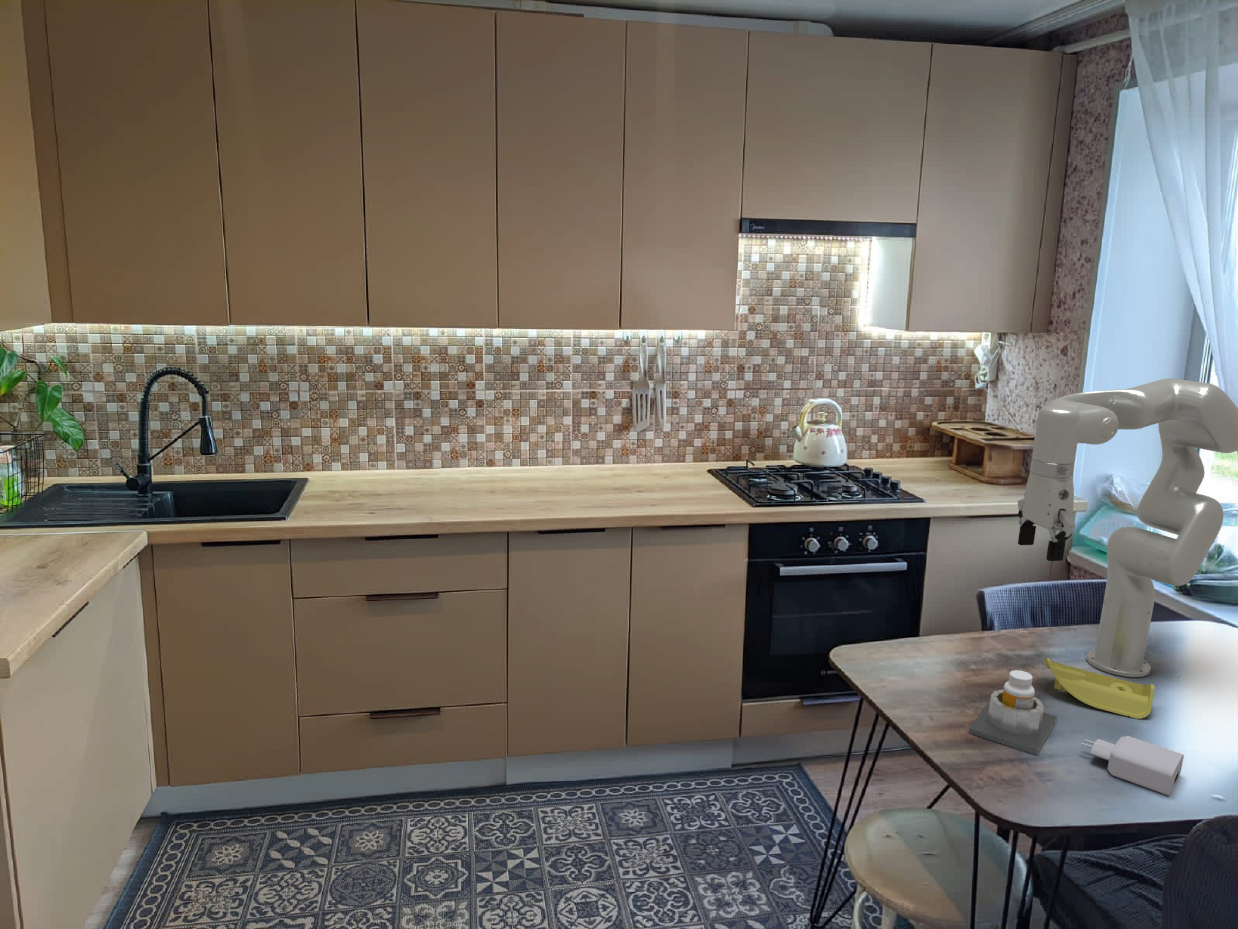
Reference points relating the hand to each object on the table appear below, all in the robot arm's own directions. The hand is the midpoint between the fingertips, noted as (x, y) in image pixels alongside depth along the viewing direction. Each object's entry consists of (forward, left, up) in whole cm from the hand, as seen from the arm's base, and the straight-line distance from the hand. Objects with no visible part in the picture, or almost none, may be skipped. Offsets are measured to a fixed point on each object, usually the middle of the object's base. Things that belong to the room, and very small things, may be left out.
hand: (1039, 552), depth 180 cm
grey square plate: (+17, +3, -30) cm, 35 cm away
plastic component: (-8, +13, -31) cm, 34 cm away
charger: (+19, +22, -31) cm, 43 cm away
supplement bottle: (+17, +3, -29) cm, 34 cm away
